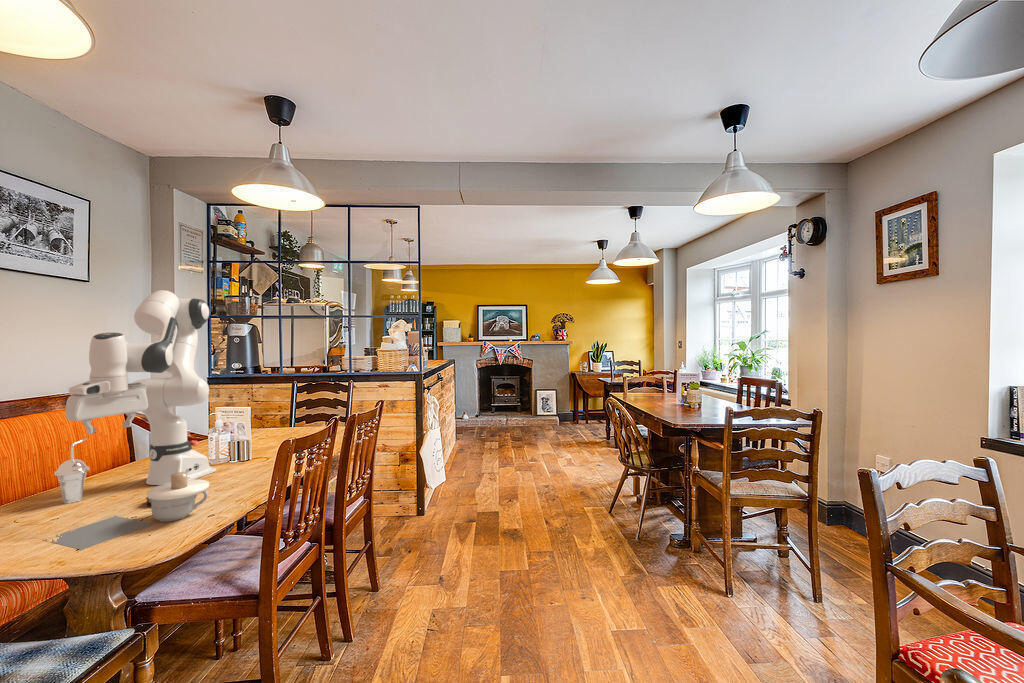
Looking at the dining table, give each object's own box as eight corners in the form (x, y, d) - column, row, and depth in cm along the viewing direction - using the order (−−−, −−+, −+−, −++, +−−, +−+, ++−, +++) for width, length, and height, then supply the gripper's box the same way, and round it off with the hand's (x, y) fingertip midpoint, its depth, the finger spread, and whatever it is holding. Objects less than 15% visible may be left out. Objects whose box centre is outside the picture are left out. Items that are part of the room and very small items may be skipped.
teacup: (143, 527, 129) (143, 499, 129) (161, 513, 140) (161, 487, 140) (199, 522, 133) (199, 495, 133) (212, 508, 143) (212, 483, 143)
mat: (115, 517, 136) (115, 516, 136) (153, 525, 131) (153, 523, 131) (41, 541, 120) (41, 539, 120) (81, 551, 115) (81, 549, 115)
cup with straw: (49, 503, 148) (48, 442, 148) (84, 494, 156) (84, 437, 156) (61, 507, 144) (60, 445, 144) (97, 498, 153) (96, 439, 152)
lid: (186, 481, 146) (186, 465, 146) (220, 486, 141) (220, 469, 141) (134, 496, 132) (134, 478, 132) (171, 502, 127) (170, 484, 127)
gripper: (139, 381, 150) (139, 422, 150) (61, 389, 130) (62, 436, 131) (152, 382, 148) (153, 424, 148) (75, 390, 128) (76, 438, 129)
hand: (110, 430), depth 139 cm, fingers open, 8 cm apart
